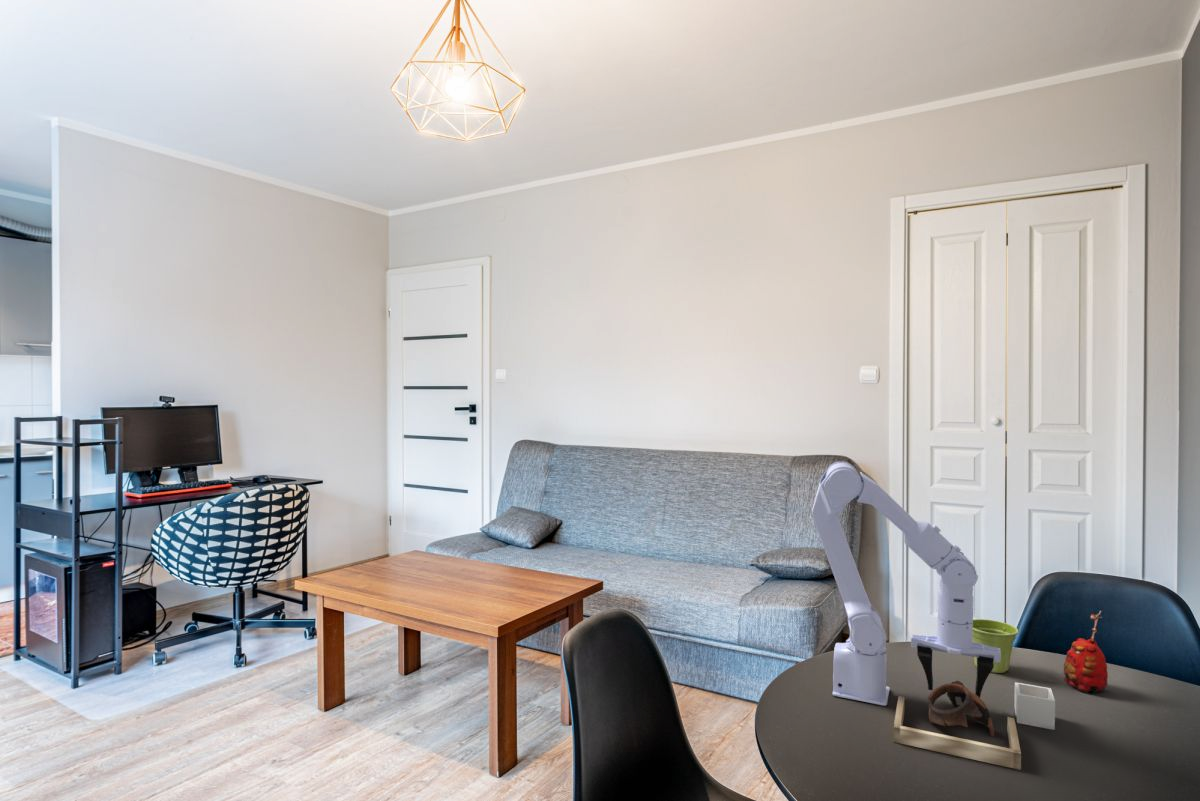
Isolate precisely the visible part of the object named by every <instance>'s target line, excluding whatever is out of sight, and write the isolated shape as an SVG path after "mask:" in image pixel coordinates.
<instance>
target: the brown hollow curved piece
mask: <svg viewBox="0 0 1200 801" xmlns="http://www.w3.org/2000/svg"><path fill="white" fill-rule="evenodd" d="M943 695H946V696H947V697H948V699H949V701H950V702H951V704H952V705H951V706H952V709H940V708H937V707H936V706H935V705H934V704H935V702H936V701H937V700H938V699H939V698H940V697H942V696H943ZM928 700H929V703H928V705H927V707H928V718H929V722H930V723H931V724H932V725H934V724H936V725H940V726H943V727H947V726H948V727H954V726H963V727H964V728H968V727H969V726H968V722H967V715H968V716H969V717H971V718H972V721H973V722H975V723H976V722H977V723H981V724H984V725H986V726H988V727H987V728H988V729H989V734H990V736H991V737H994V736H995V731H994V730H995V729H994V725H993V720H992V718H991V715H990V711H989V709H988V708H987V707H986V706H987V705H986V704H985V702H984V701H983V700H982V699H981V697H980V698H979V697H978V696H977V695H975V693H974V692H973V691H970V690H969V689H968V687H966V686H965V685H964V684H963V682H961V681H959V680H955V681H952V682H951V683H944V684H942V685H940V686H938V687H935V689H934V690H931V693H930V694H929V696H928Z"/></svg>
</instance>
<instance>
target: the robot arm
mask: <svg viewBox="0 0 1200 801" xmlns="http://www.w3.org/2000/svg"><path fill="white" fill-rule="evenodd" d="M859 473H860V474H859ZM854 499H856V501H857V503H860V504H861V503H862V504H867V505H871V506H873V508H875V509H876V510H877V511H878V512H879V513H880V514H882V515H883V516H884V517H885V518H886V519H887V520H889V521H890V522H891V523H892V524H893V525H894V526H895V527H896V528H898V529H899V530H900V531H902V533H903V535H904V538H903V540H904V541H903V542H904V544H905V545H906V546H907V547H908V548H909V549H910V550H911V551H912V552H913V553H915V555H916V556H918V557H919V558H920V559H921V560H922V561H923V562H924V563H925V564H926V565H927V566H928V567H929V568H931V569H932V570H935V571H936V573H937V574H938V575H939V576H940V578H939V588H938V589H939V590H938V593H937V594H938V595H937V596H938V597H937V598H938V599H937V635H936V636H934V635H919V634H911V637H910V648H911V649H915V650H916V649H917V652H916V655H917V657H918V660H919V662H920V664H921V665H922V668H923V672H924V674H925V677H926V681H927V686H928V687H927V690H929V691H934V690H933V688H934V678H933V651H937V652H941V653H942V652H943V653H949V654H953V655H957V656H958V655H959V656H960V655H961V656H966V657H973V658H974V657H977V666H976V680H975V687H974V688H975V690H974V692H975V693H974V694H975V695H977V696H978V697H979V698H980V699H981V696H982V691H983V688H984V685H985V683H986V681H987V679H988V677H989V676H990V674H991V673H992V672H991V671H992V669H993V667H994V663H993V661H994V662H1001V651H1000V648H995V647H990V646H986V645H983V644H979V643H975V642H972V640H973V619H974V595H973V591H974V586H976V583H977V581H978V578H979V575H978V574H977V570H976V567H975V565H974V564H973V563H972V562H971V560H969V559H968V557H967V556H966V555H965V554H964V552H962V549H961V548H960V547H959V546H958V545H957V544H955V545H953V544H952V543H951V542H950V541H949V540H948V539H947V538H946V537H944V536H943V535H942V534H941V533H940V532H941V529H940V528H939V526H937V525H936V524H934V523H933V525H932V524H930V523H929V522H927V521H917V520H915V519H914V517H912V516H911V515H910V514H909V513H908V512H907V511H906V510H905V509H904V508H903V507H902V506H901V505H900V504H899V503H898V502H897V501H896V500H895V499H894V498H892V497H891V495H889V493H888V492H887V491H885V490H884V489H883V488H882V487H881V486H880V485H879V484H878V483H877V482H875V481H874V480H873V479H872V478H870V477H869V476H867V475H866V474H864V473H863V472H861V471H860V472H858V470H857V468H856V467H855V466H854V465H852V464H851V463H850V462H846V461H836V462H833V463H832V464H830V465H829V466H828V467H827V469H826V470H825V472H824V473H823V474H822V475H821V477H820V479H819V484H818V487H817V491H816V495H815V498H814V501H813V506H812V509H811V515H812V519H813V523H814V524H815V527H816V530H817V532H818V536H819V539H820V541H821V544H822V546H823V550H824V551H825V555H826V557H827V560H828V563H829V566H830V569H831V571H832V575H833V576H834V579H835V583H836V586H837V588H838V591H839V593H840V597H841V599H842V602H843V604H844V609H845V612H846V615H847V625H848V629H849V637H848V638H847V639H846V640H845V642H836V643H835V645H834V651H833V666H832V671H833V672H832V686H833V687H832V696H835V697H838V698H844V699H849V700H854V701H860V702H863V703H864V702H865V703H870V704H874V705H878V706H885V707H886V706H887V705H888V701H889V697H890V696H889V695H890V690H891V689H890V688H891V687H890V686H887V650H888V649H887V645H886V643H887V634H886V631H885V629H884V627H883V620H882V617H881V615H880V613H879V612H878V611H877V610H876V609H875V608H874V607H873V605H872V603H871V602H870V599H869V596H868V593H867V592H866V590H865V587H864V584H863V581H862V578H861V576H860V573H859V570H858V567H857V564H856V562H855V560H854V557H853V554H852V551H851V548H850V545H849V542H848V540H847V538H846V534H845V532H844V529H843V527H842V524H841V520H840V519H839V517H840V516H841V514H842V513H843V511H844V509H845V507H846V505H847V504H849V502H851V501H852V500H854Z"/></svg>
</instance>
